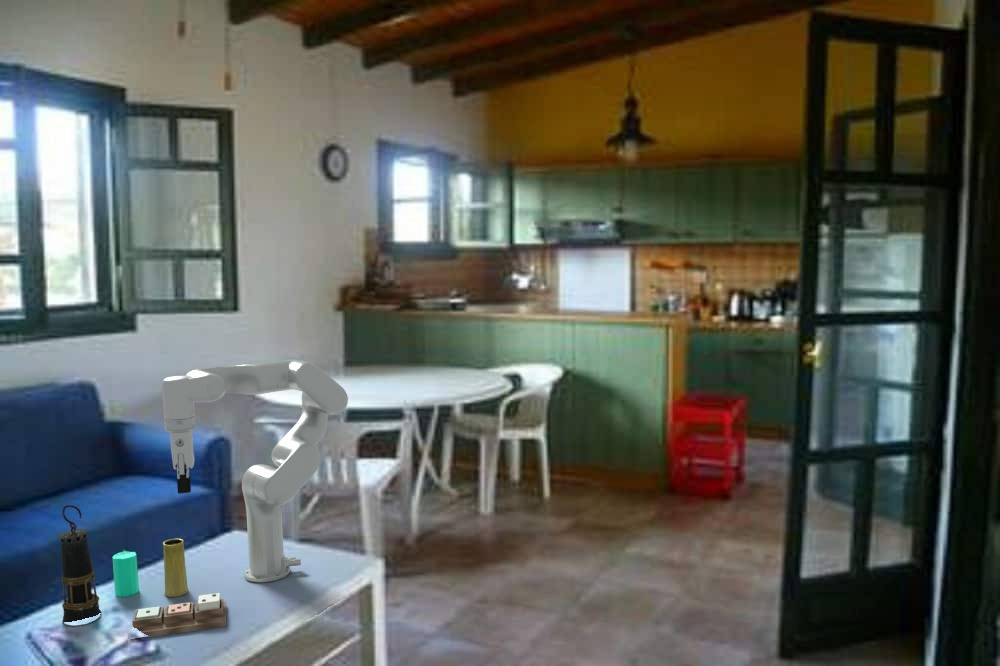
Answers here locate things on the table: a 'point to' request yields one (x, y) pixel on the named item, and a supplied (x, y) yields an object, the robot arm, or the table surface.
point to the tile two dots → (209, 602)
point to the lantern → (77, 574)
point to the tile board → (182, 621)
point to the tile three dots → (179, 608)
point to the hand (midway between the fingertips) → (184, 492)
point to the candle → (125, 573)
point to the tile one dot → (148, 613)
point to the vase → (174, 568)
